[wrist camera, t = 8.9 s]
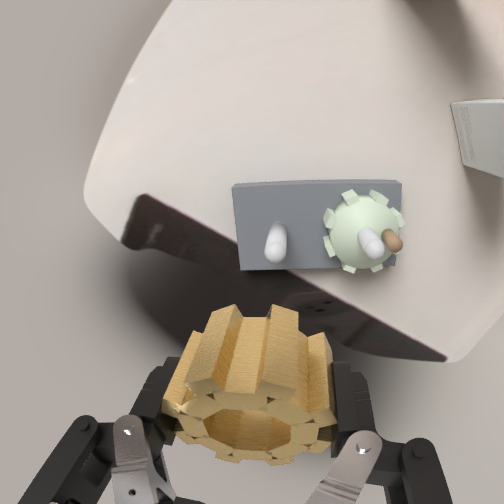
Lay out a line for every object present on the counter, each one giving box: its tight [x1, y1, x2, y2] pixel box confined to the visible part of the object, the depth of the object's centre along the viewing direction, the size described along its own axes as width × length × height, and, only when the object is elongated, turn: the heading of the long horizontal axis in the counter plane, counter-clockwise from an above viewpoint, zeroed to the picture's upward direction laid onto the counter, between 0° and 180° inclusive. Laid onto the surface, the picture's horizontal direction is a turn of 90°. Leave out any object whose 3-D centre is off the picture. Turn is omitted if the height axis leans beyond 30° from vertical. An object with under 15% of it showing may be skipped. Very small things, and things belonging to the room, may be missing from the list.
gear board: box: [232, 180, 405, 274], centre depth 27 cm, size 17×9×8 cm, turn 95°
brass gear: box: [161, 304, 337, 466], centre depth 11 cm, size 6×6×4 cm
